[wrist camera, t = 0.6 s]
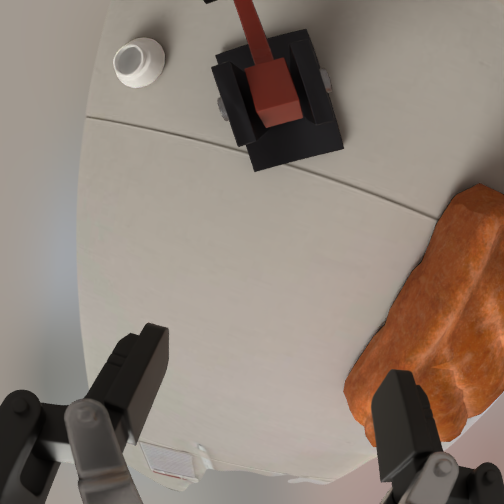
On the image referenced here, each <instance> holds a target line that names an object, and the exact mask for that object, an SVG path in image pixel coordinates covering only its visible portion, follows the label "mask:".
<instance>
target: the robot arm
mask: <svg viewBox="0 0 504 504" xmlns="http://www.w3.org/2000/svg"><path fill="white" fill-rule="evenodd" d="M168 360H169V329H168V328H166V327H162V326H159V325H155V324H151V323H147V324H146V325H145V326H144V328H143V330H142V331H141V333H140V335H136V334H132V333H130V334H128V335H127V336H125V337H124V338H122V339H121V340H120V341H119V342H118V343H117V345H116V347H115V348H114V350H113V351H112V354H111V355H110V356H109V358H108V360H107V363H105V365H104V366H103V368H102V370H101V371H100V373H99V375H98V376H97V378H96V380H95V381H94V383H93V385H92V387H91V388H90V390H89V392H88V393H87V395H86V396H85V397H84V398H83V399H79V400H76V401H74V402H73V403H72V404H70V405H54V404H47V403H40V401H39V399H38V398H37V396H36V395H35V394H34V393H32V392H30V391H27V390H17V391H14V392H12V393H10V394H9V395H8V396H7V397H6V398H5V400H4V401H3V403H2V404H1V406H0V504H45V501H46V499H47V496H48V494H49V491H50V488H51V486H52V483H53V481H54V478H55V476H56V473H57V471H58V468H59V466H60V464H61V462H65V463H72V464H75V465H76V470H77V473H78V477H79V481H78V487H79V492H80V495H81V498H82V501H83V504H143V502H142V500H141V498H140V495H139V493H138V491H137V489H136V486H135V484H134V482H133V479H132V477H131V474H130V472H129V470H128V467H127V465H126V462H125V459H124V457H123V454H122V453H123V451H124V448H125V446H126V444H127V443H129V444H132V445H135V446H136V444H137V441H138V439H139V436H140V434H141V431H142V429H143V426H144V424H145V421H146V419H147V417H148V414H149V412H150V409H151V407H152V404H153V402H154V399H155V397H156V395H157V392H158V390H159V387H160V385H161V383H162V380H163V378H164V375H165V373H166V370H167V366H168ZM430 407H431V406H430V403H429V400H428V396H427V394H426V393H425V392H424V390H423V389H422V388H421V386H420V385H416V383H415V380H414V377H413V374H412V372H411V371H408V370H397V369H391V370H390V371H389V372H388V374H387V375H386V377H385V378H384V380H383V381H382V383H381V385H380V386H379V388H378V389H377V391H376V392H375V394H374V396H373V398H372V402H371V413H372V419H373V426H374V433H375V440H376V447H377V455H378V463H379V471H380V480H381V482H392V488H391V489H390V490H389V491H388V492H387V494H386V495H385V497H384V498H383V500H382V501H381V503H380V504H504V484H503V479H502V475H501V472H500V470H499V469H498V468H497V466H495V465H494V464H492V463H489V462H486V463H483V464H481V465H480V466H479V467H477V468H476V469H470V468H466V467H461V466H458V464H457V462H456V460H455V459H454V458H453V457H452V456H451V455H450V454H448V453H446V452H443V449H442V445H441V441H440V437H439V434H438V430H437V427H436V423H435V420H434V418H433V413H432V409H430Z"/></svg>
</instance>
